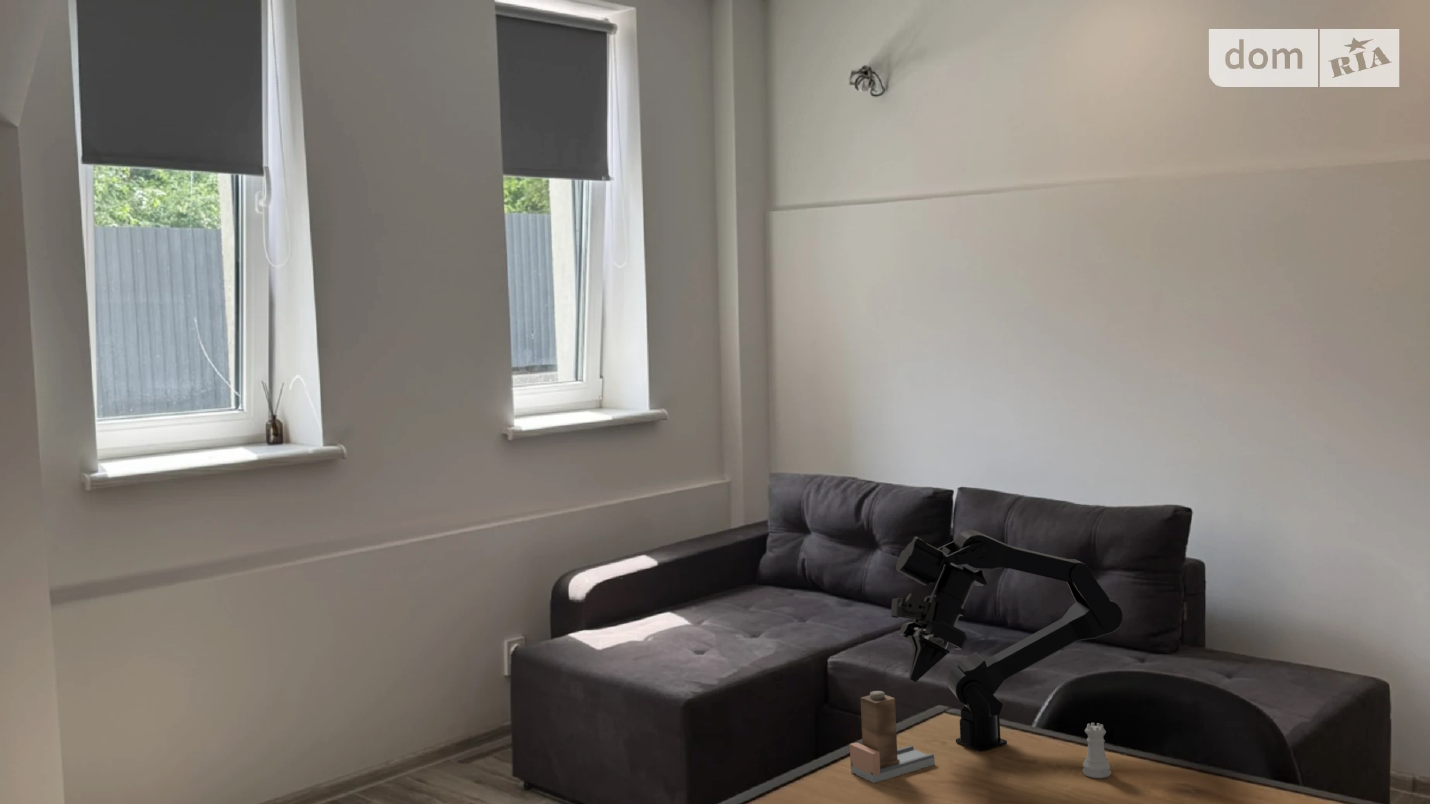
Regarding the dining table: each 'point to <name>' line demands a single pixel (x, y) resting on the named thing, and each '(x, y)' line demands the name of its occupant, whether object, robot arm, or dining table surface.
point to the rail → (868, 766)
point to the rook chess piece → (1096, 753)
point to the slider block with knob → (880, 726)
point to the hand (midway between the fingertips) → (912, 680)
